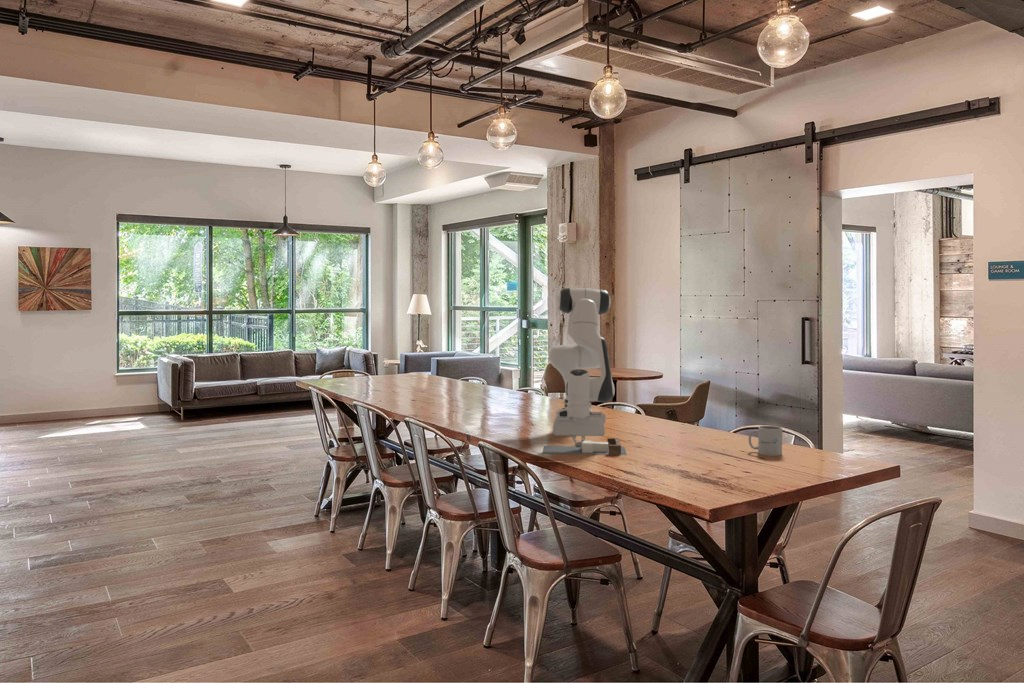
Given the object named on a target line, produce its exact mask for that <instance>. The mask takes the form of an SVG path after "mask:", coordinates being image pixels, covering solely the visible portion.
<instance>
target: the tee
mask: <svg viewBox="0 0 1024 683" xmlns="http://www.w3.org/2000/svg"><path fill="white" fill-rule="evenodd" d="M593 451H594V452H608V442H607V441H593V440H584V441H583V443H582V453H593Z"/></svg>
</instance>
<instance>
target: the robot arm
mask: <svg viewBox="0 0 1024 683" xmlns="http://www.w3.org/2000/svg"><path fill="white" fill-rule="evenodd" d="M557 305H558V307H559V310H560V311H561V312H563V313H564V314H567V315H568V323H567V334H568V336H569V337H570V338H571V339H572V341H573V342H574V344H560V345H556V346H553V347H552V349H551V350H550V351H549V355H548V358H549V362H550V364H551V365H552V367H553V368H555V369H556V370H557V371H558V372H559V374H560V375H561V377H562V379H563V381H564V387H565V389H564V390H565V399H564V403H563V404H564V407H562V408H559V409H557V410H556V411H555V415H556V417H554V420H553V425H552V434H553V435H554V436H563V437H565V436H566V437H567V436H569V437H571V436H572V438H571V439H572V441H573V443H574V446H575V447H582V443H583V441H585V439H586V437H603V436H605V434H606V430H605V423H606V422H607V421H606V420H607V417H606V414H605V413H603V412H601V411H598V412H597V411H594V410H592V402H599V403H604V404H605V403H608V402H610V401H611V400H612V399H614V397H615V392H616V391H615V390H616V388H615V384H614V382H613V376H612V370H611V363H610V356H609V350H608V349H609V348H608V344H607V341H606V339H605V338H604V337H603V336H601V334H600V331H599V315H604V314H607V313H608V311H609V309H610V308H611V305H612V300H611V296H610V293H609V292H608V291H607V290H605V289H597V288H590V287H589V288H588V287H585V288H583V287H581V288H579V287H578V288H577V287H576V288H571V287H566V288H563V289H561V291H560V293H559V295H558V297H557ZM597 368H600V369H599V370H600V376H590V373H589V371H588V370H586V369H589V370H592V369H593V370H594V369H597ZM577 436H579V437H581V438H580V439H581V441H577V440H576V439H577Z"/></svg>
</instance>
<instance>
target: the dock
mask: <svg viewBox="0 0 1024 683" xmlns="http://www.w3.org/2000/svg"><path fill="white" fill-rule="evenodd" d="M606 442H608V447H609V455H608V456H622V455H621V447H622V445H621V442H620V438H619V437H607V441H606Z"/></svg>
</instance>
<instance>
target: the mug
mask: <svg viewBox="0 0 1024 683" xmlns="http://www.w3.org/2000/svg"><path fill="white" fill-rule="evenodd" d="M755 433H756V434H758V438H757V439H758V442H757V443H758V444H757V446H755V445H753V443H752V436H753V434H755ZM748 445H749V446H750V448H751V449H753V450H758V451H757V452H758V453H757V454H759V455H761V456H768V457H769V456H771V457H777V456H782V455H783V427H780V426H776V425H775V426H774V425H759V426H758V429H754V430H752V431H751V432H750V433H749V434H748Z"/></svg>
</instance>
